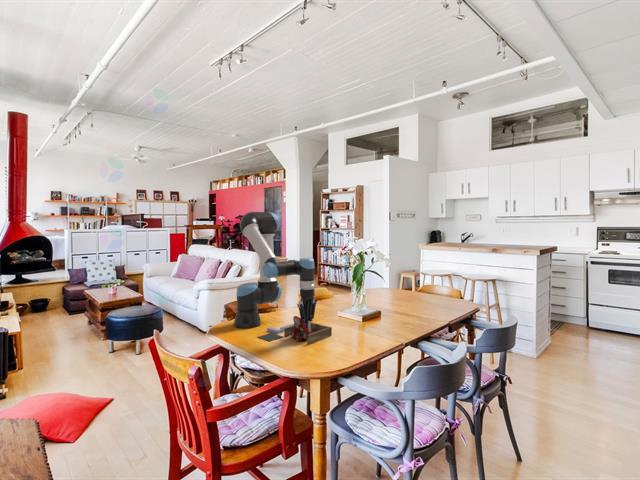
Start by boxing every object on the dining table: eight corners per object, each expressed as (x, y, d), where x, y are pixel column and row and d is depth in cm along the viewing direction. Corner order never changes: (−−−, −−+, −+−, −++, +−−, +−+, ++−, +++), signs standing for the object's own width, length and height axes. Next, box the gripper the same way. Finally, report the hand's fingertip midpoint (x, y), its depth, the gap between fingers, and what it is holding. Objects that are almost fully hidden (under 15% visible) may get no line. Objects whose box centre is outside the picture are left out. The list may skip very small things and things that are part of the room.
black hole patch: (257, 337, 184) (257, 336, 184) (270, 333, 191) (270, 332, 191) (269, 341, 178) (269, 340, 178) (282, 337, 185) (282, 336, 185)
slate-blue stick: (267, 331, 195) (267, 328, 195) (270, 330, 197) (270, 326, 196) (277, 334, 189) (277, 331, 189) (280, 333, 191) (280, 330, 191)
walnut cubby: (284, 336, 185) (284, 328, 185) (307, 328, 198) (307, 320, 198) (309, 344, 174) (309, 335, 174) (331, 335, 187) (331, 327, 187)
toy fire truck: (301, 343, 175) (299, 323, 174) (289, 336, 186) (288, 316, 185) (313, 339, 179) (311, 319, 178) (301, 332, 189) (299, 313, 188)
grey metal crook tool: (279, 331, 194) (279, 327, 194) (293, 327, 202) (293, 323, 202) (287, 333, 190) (287, 330, 190) (301, 329, 198) (301, 325, 197)
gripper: (304, 291, 177) (304, 338, 178) (320, 287, 186) (321, 331, 188) (293, 289, 181) (293, 335, 183) (310, 285, 191) (310, 328, 193)
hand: (307, 333), depth 186 cm, fingers closed
